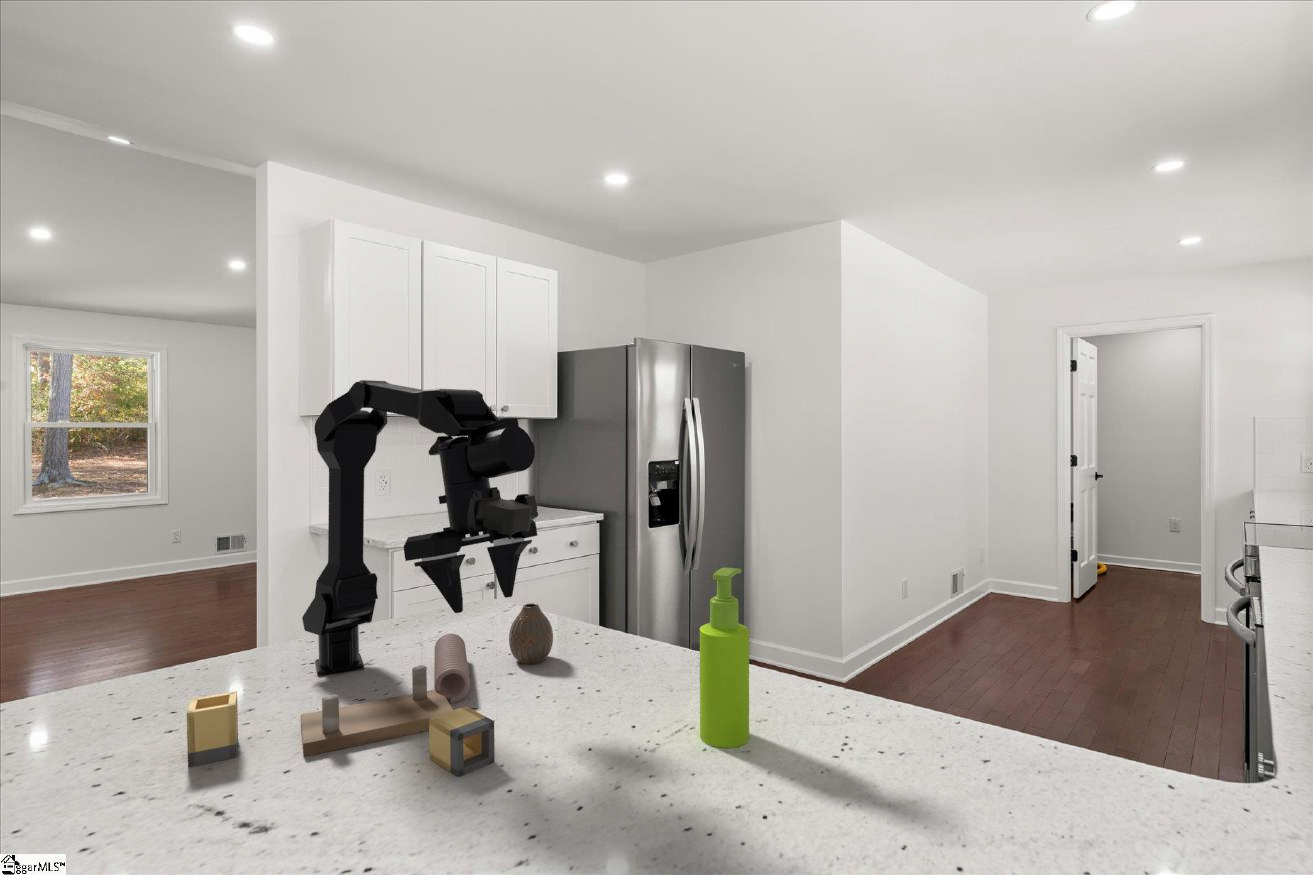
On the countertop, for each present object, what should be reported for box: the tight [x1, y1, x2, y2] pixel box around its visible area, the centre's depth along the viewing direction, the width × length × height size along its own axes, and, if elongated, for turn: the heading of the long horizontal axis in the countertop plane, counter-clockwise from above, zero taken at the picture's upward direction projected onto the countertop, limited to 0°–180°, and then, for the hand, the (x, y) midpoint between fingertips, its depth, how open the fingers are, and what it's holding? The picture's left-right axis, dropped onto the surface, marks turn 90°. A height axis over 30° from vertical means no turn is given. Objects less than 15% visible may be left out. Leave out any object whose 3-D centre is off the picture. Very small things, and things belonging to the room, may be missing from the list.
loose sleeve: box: [186, 690, 239, 768], centre depth 80 cm, size 5×5×6 cm
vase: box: [508, 602, 554, 665], centre depth 111 cm, size 7×7×9 cm
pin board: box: [300, 665, 454, 758], centre depth 88 cm, size 9×17×6 cm, turn 119°
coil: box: [433, 633, 471, 704], centre depth 103 cm, size 5×5×18 cm
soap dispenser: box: [699, 567, 750, 749], centre depth 84 cm, size 6×7×20 cm
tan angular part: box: [428, 705, 496, 778], centre depth 79 cm, size 5×5×6 cm
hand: (484, 604), depth 89 cm, fingers open, 9 cm apart
